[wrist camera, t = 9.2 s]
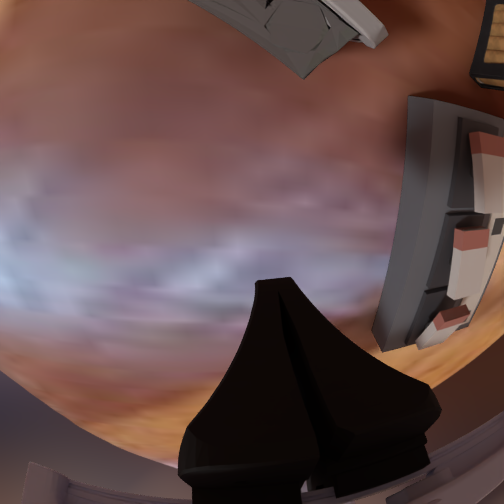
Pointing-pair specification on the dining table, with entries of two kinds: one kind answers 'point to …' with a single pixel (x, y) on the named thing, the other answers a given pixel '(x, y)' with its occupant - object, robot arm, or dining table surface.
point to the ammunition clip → (490, 48)
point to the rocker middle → (467, 261)
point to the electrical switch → (300, 27)
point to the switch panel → (434, 220)
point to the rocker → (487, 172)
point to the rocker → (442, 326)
